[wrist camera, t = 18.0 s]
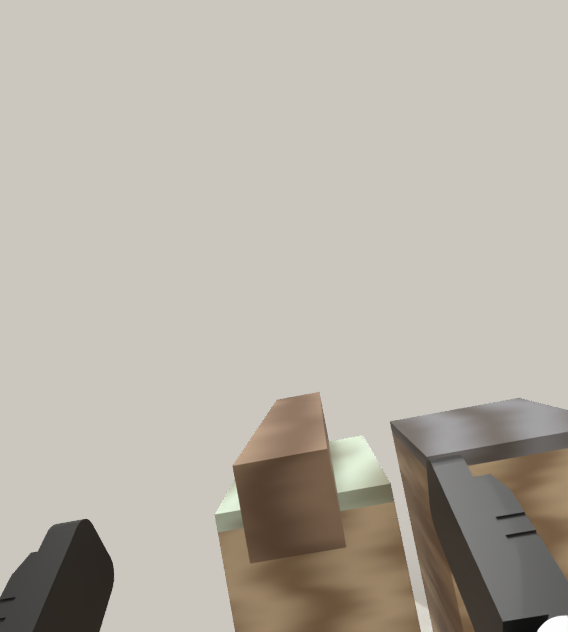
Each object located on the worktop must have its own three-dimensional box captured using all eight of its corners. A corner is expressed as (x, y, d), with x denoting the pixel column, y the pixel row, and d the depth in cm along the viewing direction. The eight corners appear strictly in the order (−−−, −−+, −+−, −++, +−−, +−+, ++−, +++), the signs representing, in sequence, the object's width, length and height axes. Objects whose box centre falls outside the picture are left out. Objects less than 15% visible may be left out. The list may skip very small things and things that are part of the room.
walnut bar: (250, 563, 19) (232, 465, 19) (284, 442, 43) (276, 400, 43) (346, 547, 19) (327, 448, 19) (327, 435, 43) (319, 392, 43)
